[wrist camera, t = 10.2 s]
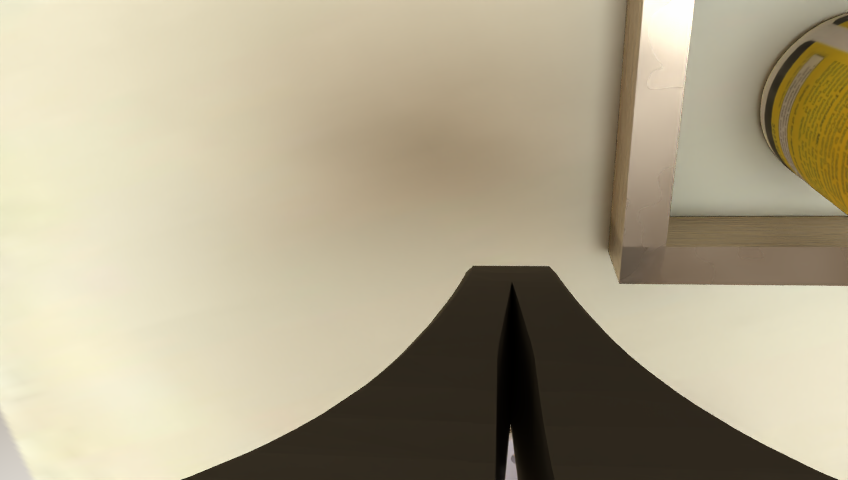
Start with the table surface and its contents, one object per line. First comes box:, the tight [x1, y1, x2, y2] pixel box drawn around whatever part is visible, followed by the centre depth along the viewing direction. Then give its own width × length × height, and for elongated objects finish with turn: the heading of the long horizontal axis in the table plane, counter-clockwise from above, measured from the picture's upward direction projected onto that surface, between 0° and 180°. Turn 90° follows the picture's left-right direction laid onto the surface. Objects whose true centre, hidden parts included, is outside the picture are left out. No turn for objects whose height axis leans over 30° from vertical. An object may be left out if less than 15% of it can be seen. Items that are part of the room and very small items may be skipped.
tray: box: [608, 0, 848, 286], centre depth 18 cm, size 9×9×2 cm
